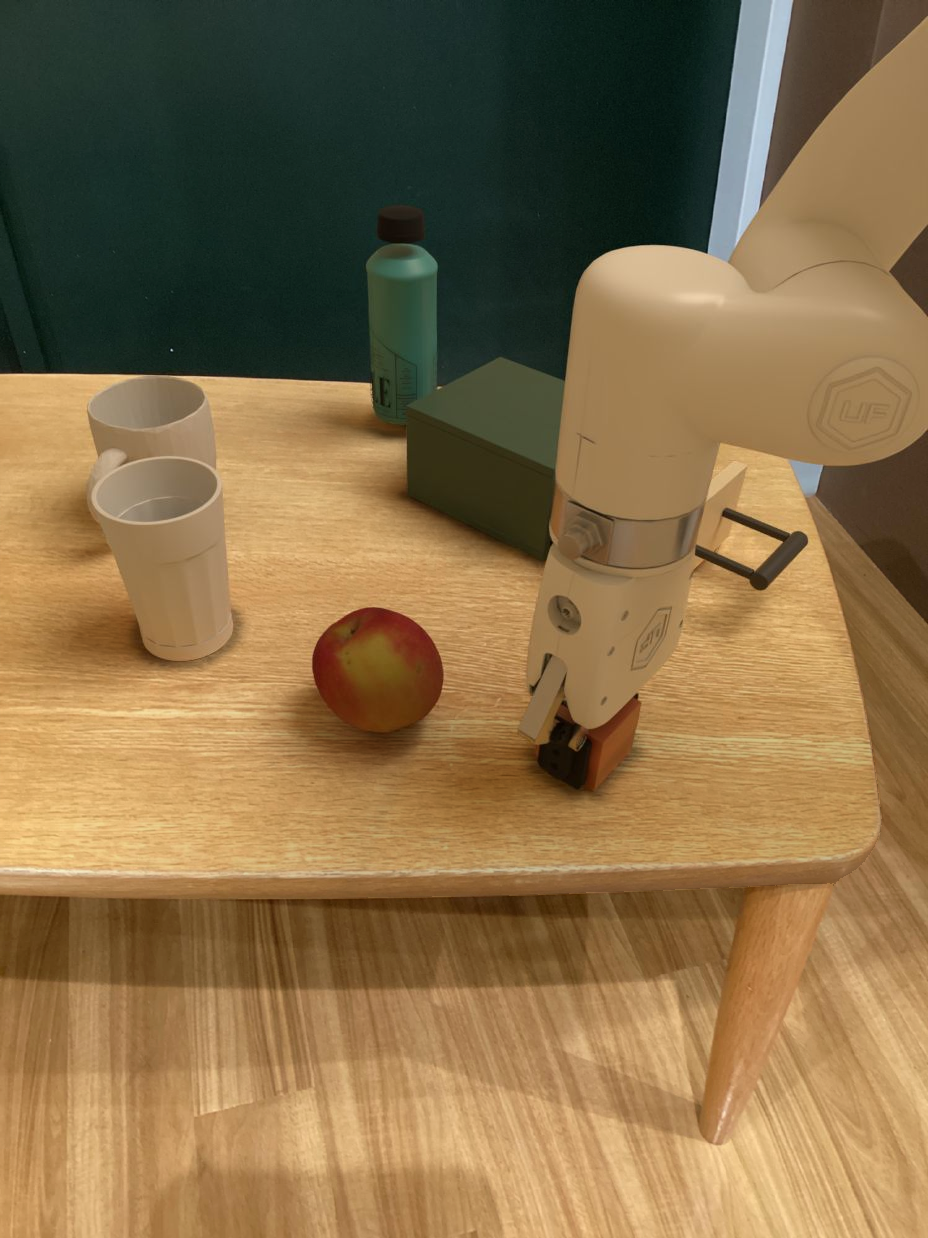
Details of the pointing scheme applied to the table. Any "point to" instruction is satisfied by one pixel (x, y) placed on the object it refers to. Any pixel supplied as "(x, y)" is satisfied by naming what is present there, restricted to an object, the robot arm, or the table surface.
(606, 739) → the block
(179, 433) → the mug
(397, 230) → the beverage bottle
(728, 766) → the table surface
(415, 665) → the apple
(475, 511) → the cabinet
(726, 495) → the drawer
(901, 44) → the robot arm
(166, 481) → the cup
